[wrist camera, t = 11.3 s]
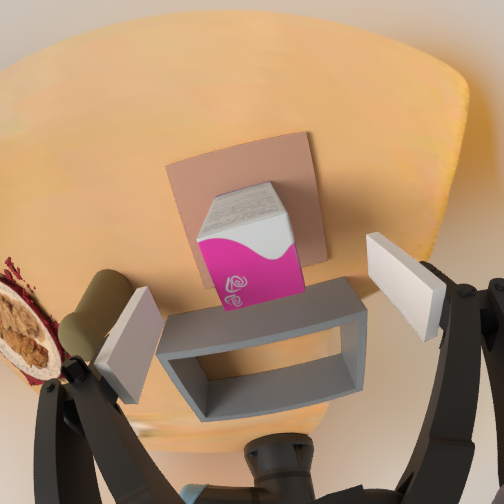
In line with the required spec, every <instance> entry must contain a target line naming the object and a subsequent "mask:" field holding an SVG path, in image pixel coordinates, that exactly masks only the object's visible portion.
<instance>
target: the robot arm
mask: <svg viewBox="0 0 504 504" xmlns="http://www.w3.org/2000/svg"><path fill="white" fill-rule="evenodd" d="M366 240H367V256H368V276H369V277H370V278H371V279H372V280H373V281H374V282H375V284H376V285H377V286H378V287H379V288H380V289H381V290H382V292H383V293H384V294H385V295H386V296H387V297H388V298H389V299H390V301H391V302H392V303H393V304H394V306H395V307H396V308H397V309H398V310H399V311H400V313H401V314H402V315H403V316H404V318H405V319H406V320H407V321H408V323H409V324H410V325H411V326H412V328H413V329H414V330H415V331H416V333H417V334H418V335H419V336H420V338H421V339H422V340H423V341H424V342H425V341H427V340H430V339H432V338H434V337H436V336H437V333H438V328H439V326H440V327H441V328H442V329H443V331H444V332H443V336H442V340H441V344H440V347H439V349H441V350H440V355H439V361H438V366H437V372H436V376H435V381H434V385H433V389H432V394H431V397H430V401H429V405H428V409H427V412H426V415H425V419H424V422H423V426H422V428H421V432H420V435H419V437H418V440H417V443H416V446H415V448H414V451H413V454H412V456H411V458H410V461H409V463H408V466H407V468H406V470H405V472H404V473H403V475H402V477H401V479H400V481H399V483H398V485H397V487H396V489H395V491H392V490H387V489H363V486H362V485H359V486H356V487H352V488H349V489H346V490H343V491H339V492H335V493H331V494H327V495H325V496H323V497H321V498H319V499H317V500H316V499H315V495H314V489H313V484H312V479H311V474H310V469H311V463H312V458H313V452H314V446H313V441H312V439H311V438H310V437H308V436H306V435H303V434H295V433H284V434H274V435H269V436H264V437H261V438H258V439H255V440H253V441H251V442H249V443H248V444H247V445H246V446H245V448H244V457H245V460H246V462H247V464H248V467H249V469H250V471H251V473H252V475H253V477H254V487H227V486H214V485H209V484H206V485H199V484H188V485H185V486H184V487H183V488H182V490H181V492H180V494H178V493H177V492H176V491H175V489H174V488H173V487H172V486H171V485H170V483H169V482H168V481H167V479H166V478H165V477H164V475H163V474H162V473H161V471H160V470H159V469H158V467H157V466H156V465H155V463H154V462H153V460H152V459H151V457H150V456H149V454H148V453H147V451H146V450H145V448H144V447H143V445H142V444H141V442H140V440H139V439H138V437H137V436H136V434H135V432H134V431H133V429H132V427H131V426H130V424H129V422H128V420H127V419H126V417H125V415H124V413H123V411H122V410H121V408H120V406H119V405H118V404H117V403H116V401H117V399H118V397H119V398H120V399H121V400H122V401H123V403H124V404H138V401H139V398H140V395H141V392H142V388H143V385H144V382H145V379H146V376H147V373H148V370H149V367H150V364H151V360H152V357H153V355H154V352H155V349H156V346H157V343H158V340H159V337H160V334H161V331H162V329H163V326H164V323H165V322H164V320H163V318H162V316H161V314H160V312H159V310H158V307H157V305H156V303H155V301H154V299H153V297H152V294H151V292H150V290H149V288H148V286H145V287H140V288H137V289H136V291H135V292H134V294H133V296H132V297H131V299H130V301H129V302H128V304H127V306H126V307H125V309H124V310H123V312H122V314H121V316H120V317H119V319H118V321H117V322H116V324H115V326H114V328H113V329H112V331H111V333H110V334H108V335H107V336H106V337H105V338H104V339H103V340H102V342H101V344H100V345H99V348H98V349H97V351H96V353H95V354H94V356H93V358H92V360H91V362H90V364H89V365H88V366H87V365H86V363H85V362H84V360H83V359H82V358H81V356H79V355H74V356H71V357H69V358H68V359H66V360H65V361H64V362H63V364H62V365H61V367H60V372H61V373H62V374H63V375H64V377H65V378H66V379H67V381H68V382H69V383H67V384H63V385H62V384H61V383H60V382H59V380H58V379H57V378H52V379H49V380H47V381H46V382H45V383H44V384H43V386H42V387H41V390H40V396H39V403H38V410H37V419H36V428H35V440H34V495H35V504H102V501H101V497H100V493H99V488H98V483H97V478H96V472H95V466H94V459H93V456H94V458H95V461H96V463H97V465H98V467H99V469H100V472H101V473H102V476H103V478H104V480H105V482H106V484H107V486H108V488H109V490H110V492H111V494H112V496H113V498H114V499H115V502H116V504H458V503H459V501H460V498H461V495H462V493H463V490H464V487H465V484H466V481H467V478H468V474H469V471H470V467H471V463H472V460H473V456H474V450H475V444H474V443H473V442H472V440H471V438H472V433H473V427H474V421H475V416H476V409H477V402H478V393H479V383H480V367H481V346H482V350H483V354H484V358H485V362H486V366H487V370H488V375H489V380H490V386H491V391H492V397H493V404H494V411H495V420H496V431H497V450H498V476H499V486H500V489H499V490H498V492H497V494H496V496H495V499H494V500H493V501H492V504H504V279H502V278H494V279H492V280H490V283H489V286H488V289H486V290H480V291H477V289H476V288H475V287H473V286H471V285H469V284H458V285H457V284H456V283H454V282H453V281H452V280H451V279H450V278H448V277H447V276H446V275H445V274H443V273H442V272H441V271H439V270H437V268H436V267H434V266H433V265H432V264H430V263H427V262H424V261H420V262H418V261H417V260H415V259H414V258H413V257H411V256H410V255H409V254H407V253H406V252H405V251H403V250H402V249H401V248H399V247H398V246H397V245H395V244H394V243H393V242H391V241H390V240H389V239H387V238H386V237H384V236H383V235H382V234H380V233H379V232H373V233H369V234H366Z"/></svg>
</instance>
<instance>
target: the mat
mask: <svg viewBox="0 0 504 504" xmlns="http://www.w3.org/2000/svg"><path fill="white" fill-rule="evenodd" d="M165 168H166V171H167V175H168V178H169V181H170V185H171V188H172V191H173V195H174V198H175V201H176V204H177V208H178V211H179V214H180V217H181V220H182V223H183V226H184V229H185V232H186V236H187V239H188V241H189V244H190V247H191V250H192V253H193V256H194V259H195V262H196V265H197V268H198V270H199V273H200V276H201V279H202V282H203V284H204V287H205V289H207V288H212V287H215V285H214V283H213V281H212V278H211V276H210V273H209V271H208V268H207V266H206V263H205V261H204V258H203V256H202V253H201V251H200V248H199V245H198V242H197V237H198V235H199V232H200V230H201V228H202V225H203V223H204V220H205V218H206V216H207V214H208V211H209V209H210V207H211V205H212V202H213V200H214V198H215V197H216V196H218V195H222V194H225V193H228V192H232V191H235V190H239V189H242V188H246V187H249V186H253V185H257V184H260V183H264V182H268V181H271V184H272V186H273V188H274V190H275V191H276V193H277V195H278V197H279V198H280V200H281V202H282V204H283V206H284V207H285V209H286V211H287V213H288V216H289V220H290V223H291V227H292V231H293V235H294V239H295V243H296V247H297V251H298V255H299V260H300V264H301V267H303V266H307V265H311V264H316V263H320V262H324V261H328V257H327V249H326V242H325V234H324V227H323V221H322V214H321V208H320V202H319V196H318V190H317V184H316V179H315V173H314V168H313V163H312V158H311V153H310V148H309V143H308V139H307V134H306V131H305V132H299V133H294V134H288V135H283V136H278V137H273V138H268V139H263V140H259V141H254V142H250V143H245V144H241V145H237V146H233V147H229V148H225V149H221V150H217V151H214V152H210V153H206V154H203V155H199V156H196V157H193V158H189V159H186V160H183V161H179V162H176V163H173V164H170V165H167V166H165Z"/></svg>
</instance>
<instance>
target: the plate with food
mask: <svg viewBox="0 0 504 504" xmlns="http://www.w3.org/2000/svg"><path fill="white" fill-rule="evenodd" d="M5 264H7V266H8V267H9V268H10V269H11V272H12V271H13V274H14V275H15V276H16V277H17V279H19V280H20V279H21V280H23V279H22V278H21V276H20V269H19V268H18V267H17V270H18V273H16V272H15V271H14V269H13V268H12V265H13V263H12V262H11V257H8V259H7V260H6V261H5ZM11 272H10V273H11ZM4 273H5V274H6V275H4V274H1V275H3V276H4V278H3V277H2V278H0V352H1V353H2V354H3V355H4V357H5V358H6V359H8V360H9V361H10V362H11V363H12V364H13V365H14V366H15V367H17V368H18V369H20V371H21V372H22V373H23V374H24V375H25V377H26V378H27V380H28V381H29V384H30V385H31V386H32V385H36V384H37V385H39V384H43V383H45V382H46V381H47V380H49V379H52V378H57V379H59V378H60V377H62V378H65V377H64V375H63V374H62V373H61V372H60V367H61V365H62V364H63V362H64V360H65V356H64V355H65V354H64V348H63V347H62V345H61V343H60V341H59V338H58V333H57V332H58V331H57V330H58V328H59V326H58V324H57V322H56V321H55V322H52V320H49V321H48V319H50V318H49V317H48V319H47V318H46V317H45V316H44V315H43V314H42V312H41V310H40V309H39V308H38V306H36V305H35V304H34V301H33V300H31V299H30V296H29V293H28V292H27V293H26V292H25V289H22V288H20V287H19V286H18V284H14V283H16V282H15V281H14V280H13V277H12V276H11V275H12V274H10V273H9V272H8V270H6V269H5V270H4ZM5 278H6V279H5ZM7 279H8V280H7ZM9 280H11V281H9ZM12 281H13V282H14V283H12ZM23 281H24V282H25V280H23ZM29 286H30V285H28V284H27V287H28V288H29V289H30V287H29ZM23 287H24V286H23ZM34 289H36V288H35V286H34ZM31 292H32V293H33V291H32V290H31ZM38 294H39V293H38ZM51 317H52V315H51ZM53 323H54V324H53ZM51 324H52V326H51ZM55 326H56V327H55ZM55 329H56V330H55ZM67 353H68V352H67ZM67 355H68V356H67V359H68V358H69V357H71V355H70V354H69V353H68V354H67ZM59 382H61V381H59Z"/></svg>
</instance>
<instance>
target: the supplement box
mask: <svg viewBox="0 0 504 504" xmlns="http://www.w3.org/2000/svg"><path fill="white" fill-rule="evenodd" d="M197 242H198V245H199V248H200V251H201V253H202V256H203V258H204V261H205V263H206V266H207V268H208V271H209V273H210V276H211V278H212V281H213V283H214V285H215V288H216V290H217V293H218V295H219V297H220V300H221V302H222V305H223V307H224V309H225V311H232V310H236V309H240V308H244V307H248V306H251V305H255V304H259V303H263V302H267V301H271V300H275V299H279V298H283V297H288V296H292V295H296V294H299V293H303V292H305V283H304V278H303V273H302V268H301V264H300V260H299V255H298V251H297V247H296V243H295V239H294V235H293V231H292V227H291V223H290V220H289V216H288V213H287V211H286V209H285V207H284V206H283V204H282V202H281V200H280V198H279V197H278V195H277V193H276V191H275V190H274V188H273V186H272V184H271V181H268V182H264V183H260V184H257V185H253V186H249V187H246V188H242V189H239V190H235V191H232V192H228V193H225V194H222V195H218V196H216V197H215V198H214V200H213V202H212V205H211V207H210V209H209V211H208V214H207V216H206V218H205V220H204V223H203V225H202V228H201V230H200V232H199V235H198V237H197Z"/></svg>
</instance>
